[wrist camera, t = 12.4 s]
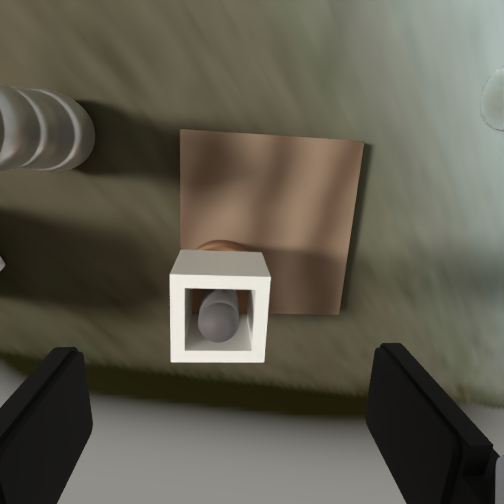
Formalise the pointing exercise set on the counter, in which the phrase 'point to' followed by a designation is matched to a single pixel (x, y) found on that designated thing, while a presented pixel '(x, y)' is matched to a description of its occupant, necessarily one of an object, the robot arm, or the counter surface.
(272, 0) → the counter surface
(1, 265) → the juice carton
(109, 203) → the counter surface
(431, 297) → the counter surface
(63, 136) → the plastic bottle
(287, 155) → the post board
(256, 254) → the hollow square frame
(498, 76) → the beer glass
